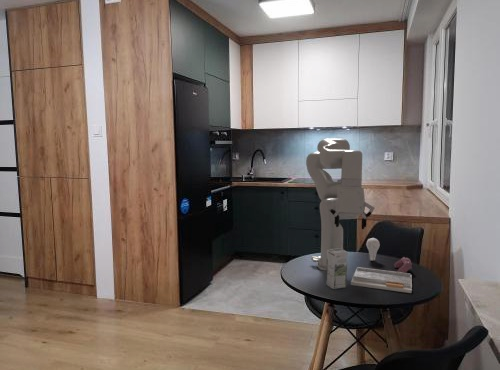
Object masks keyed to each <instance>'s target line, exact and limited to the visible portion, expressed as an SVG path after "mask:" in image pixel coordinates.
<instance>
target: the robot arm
mask: <svg viewBox="0 0 500 370" xmlns="http://www.w3.org/2000/svg"><path fill="white" fill-rule="evenodd" d="M316 149H317V151H315V152H310V153H309V154H308V155H307V156H306V160H305V165H306V170H307V173H308V175H309V177H310V178H311V180H312V181H313V182H314V185H315V190H316V192H317V195H318V197H319V199H320V203H319V213H320V220H321V224H320V225H321V234H320V235H321V237H320V238H321V241H320V244H321V245H320V256H316V255H314V256H313V255H312V256H311V261H312V262H315V263H317V264H316V267H317V268H318V269H319V270H321V271H324V272H326V269H327V250H328V249H337V248H340V249H343V250H344V228H343V226H342V225H341V223H340V220H354V219H358V218H359V216H360V215H361V217H362V218H361V230H365V228H367V222H368V221H367V219H368V218H369V217H370V216H371V215H372V214H373V212H374V210H375V206H373V205H371V204H369V203H367V202H366V199H365V190H364V188H365V187H364V186H362V185H363V183H362V181H363V179H362V178H363V152H362V151H361V150H355V149H351V145H350V143H349V141H348V140H347V138H324V139H321V140H320V141H319V142H318V143H317V148H316ZM337 169H338V170H339V169H340V171H341V172H340V173H341V175H340V176H341V177H340V178H339V179H337V181H334V180H333V177H332V176H331V175H330V173H328V171H327V170H337ZM365 208H367V209H369V210H368V212H367V213H366V212H365V210H366V209H365Z"/></svg>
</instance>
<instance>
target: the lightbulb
mask: <svg viewBox="0 0 500 370" xmlns="http://www.w3.org/2000/svg"><path fill="white" fill-rule="evenodd" d="M380 243H381V242H380V241H379V240H378V239H377V238H375V237H371V238H368V239H367V240H366V243H365V245H366V248H367V250H368V255H369V260H370V261H372V262H374V261H375V260H376V256H377V253H378V250H379V248H380V245H381V244H380Z"/></svg>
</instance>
